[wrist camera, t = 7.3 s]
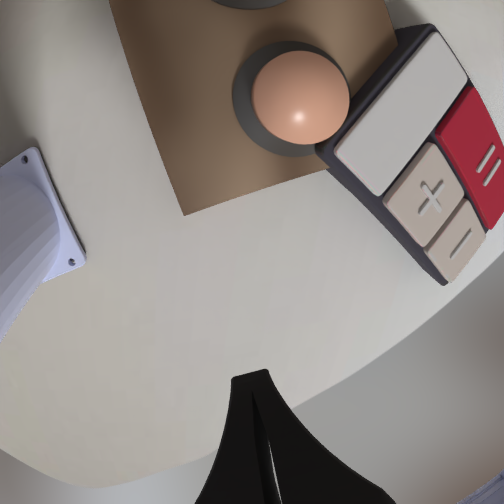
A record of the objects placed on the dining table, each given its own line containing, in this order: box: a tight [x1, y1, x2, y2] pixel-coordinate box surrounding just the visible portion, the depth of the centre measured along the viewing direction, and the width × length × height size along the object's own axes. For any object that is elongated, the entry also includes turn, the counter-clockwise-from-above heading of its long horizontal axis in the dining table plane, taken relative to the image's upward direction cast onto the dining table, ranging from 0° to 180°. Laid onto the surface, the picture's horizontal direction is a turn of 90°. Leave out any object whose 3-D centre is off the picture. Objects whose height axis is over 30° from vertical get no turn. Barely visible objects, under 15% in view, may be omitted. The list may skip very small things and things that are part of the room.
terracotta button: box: [251, 51, 349, 144], centre depth 13 cm, size 4×4×1 cm
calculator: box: [314, 23, 504, 286], centre depth 17 cm, size 11×4×15 cm
